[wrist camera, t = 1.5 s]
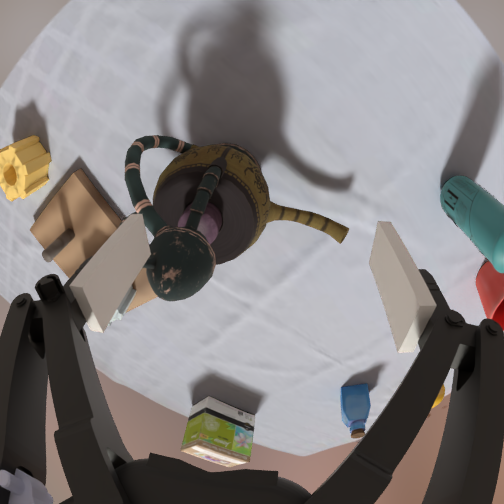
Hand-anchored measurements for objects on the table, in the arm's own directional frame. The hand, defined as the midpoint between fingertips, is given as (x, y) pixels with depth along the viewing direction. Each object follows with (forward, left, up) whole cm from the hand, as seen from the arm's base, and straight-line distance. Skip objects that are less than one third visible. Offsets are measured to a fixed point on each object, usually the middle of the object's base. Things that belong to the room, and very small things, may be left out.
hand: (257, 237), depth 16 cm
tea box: (+50, -45, -23) cm, 71 cm away
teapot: (+3, -5, -23) cm, 23 cm away
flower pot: (+37, +25, -23) cm, 50 cm away
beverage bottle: (+17, +20, -23) cm, 35 cm away
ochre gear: (-22, -33, -22) cm, 45 cm away
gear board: (-2, -34, -22) cm, 41 cm away
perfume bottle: (+56, -11, -23) cm, 61 cm away
